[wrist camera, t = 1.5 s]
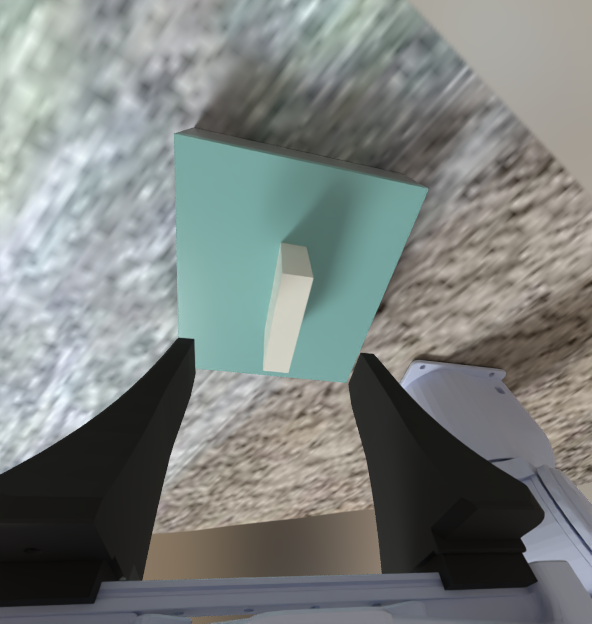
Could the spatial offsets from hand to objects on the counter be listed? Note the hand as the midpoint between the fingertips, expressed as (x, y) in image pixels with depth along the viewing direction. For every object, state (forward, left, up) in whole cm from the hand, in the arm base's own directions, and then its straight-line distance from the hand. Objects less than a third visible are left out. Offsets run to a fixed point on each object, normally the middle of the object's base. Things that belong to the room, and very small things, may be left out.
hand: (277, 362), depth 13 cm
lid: (0, 0, -6) cm, 6 cm away
